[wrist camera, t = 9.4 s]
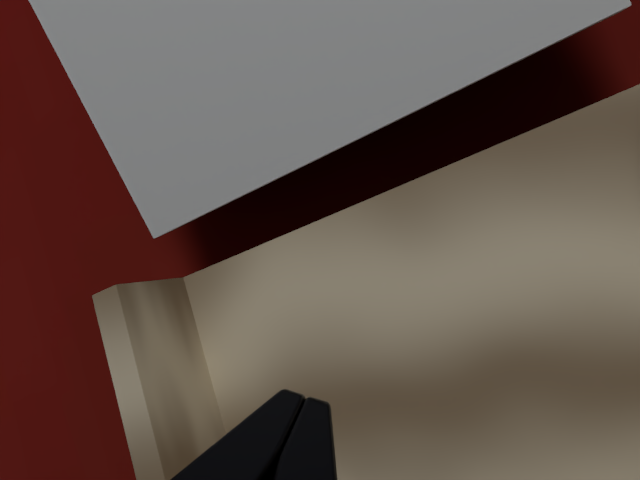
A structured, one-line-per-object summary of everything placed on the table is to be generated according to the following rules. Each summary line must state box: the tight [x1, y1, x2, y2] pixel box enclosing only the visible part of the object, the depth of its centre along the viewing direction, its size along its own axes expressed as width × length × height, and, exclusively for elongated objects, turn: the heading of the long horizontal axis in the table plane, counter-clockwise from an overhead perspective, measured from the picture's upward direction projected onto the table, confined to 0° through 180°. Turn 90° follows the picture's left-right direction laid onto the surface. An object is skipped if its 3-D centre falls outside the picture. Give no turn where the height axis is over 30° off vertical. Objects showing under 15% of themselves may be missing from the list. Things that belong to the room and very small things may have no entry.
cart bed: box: [92, 84, 640, 480], centre depth 13 cm, size 13×18×6 cm
